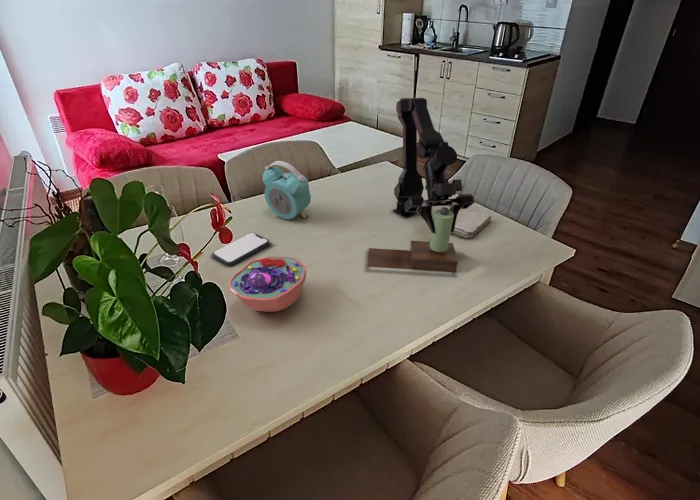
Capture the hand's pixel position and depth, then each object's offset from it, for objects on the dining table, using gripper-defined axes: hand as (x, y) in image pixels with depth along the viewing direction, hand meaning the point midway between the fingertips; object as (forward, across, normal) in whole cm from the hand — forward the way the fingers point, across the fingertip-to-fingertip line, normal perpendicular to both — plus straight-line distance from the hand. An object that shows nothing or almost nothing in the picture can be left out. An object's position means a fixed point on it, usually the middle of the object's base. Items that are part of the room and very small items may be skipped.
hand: (443, 232), depth 120 cm
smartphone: (-2, -57, +20) cm, 60 cm away
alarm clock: (-17, -42, +35) cm, 57 cm away
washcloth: (-8, +18, +25) cm, 32 cm away
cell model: (+15, -48, +2) cm, 50 cm away
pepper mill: (+3, 0, +5) cm, 6 cm away
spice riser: (+6, -7, +11) cm, 14 cm away
